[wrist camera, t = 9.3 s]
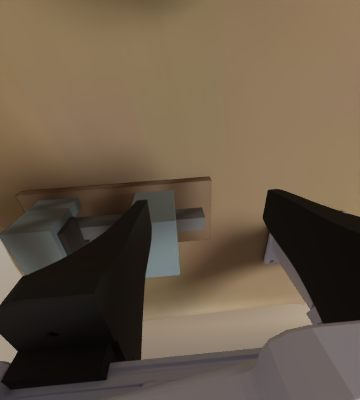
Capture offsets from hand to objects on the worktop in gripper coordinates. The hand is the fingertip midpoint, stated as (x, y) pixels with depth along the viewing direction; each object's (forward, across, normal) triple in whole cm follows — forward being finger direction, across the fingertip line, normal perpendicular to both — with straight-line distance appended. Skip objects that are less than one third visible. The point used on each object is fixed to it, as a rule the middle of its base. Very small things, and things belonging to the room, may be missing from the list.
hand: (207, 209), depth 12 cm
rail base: (+9, +8, +6) cm, 14 cm away
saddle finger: (+8, +4, +6) cm, 11 cm away
